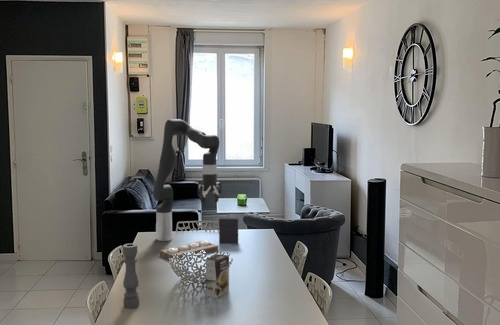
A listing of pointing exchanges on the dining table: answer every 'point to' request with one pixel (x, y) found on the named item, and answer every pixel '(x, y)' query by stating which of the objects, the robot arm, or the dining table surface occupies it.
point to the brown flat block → (207, 249)
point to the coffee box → (217, 275)
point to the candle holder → (130, 277)
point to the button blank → (184, 248)
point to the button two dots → (173, 250)
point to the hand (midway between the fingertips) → (209, 203)
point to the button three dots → (194, 245)
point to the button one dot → (204, 243)
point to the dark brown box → (228, 230)
